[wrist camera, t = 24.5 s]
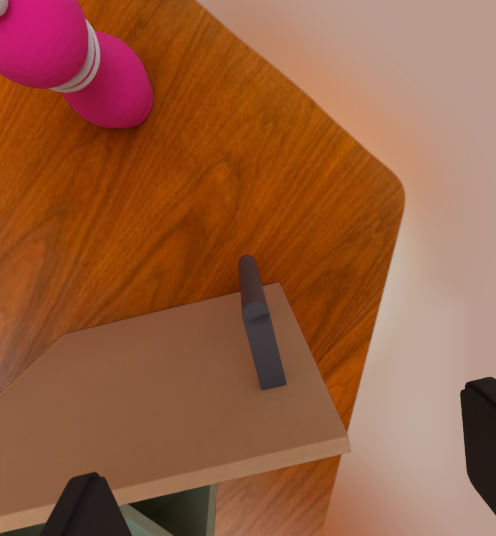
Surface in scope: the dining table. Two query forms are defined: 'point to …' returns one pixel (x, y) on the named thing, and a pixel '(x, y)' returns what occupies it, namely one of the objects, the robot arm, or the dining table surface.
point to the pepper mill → (73, 61)
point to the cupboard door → (166, 403)
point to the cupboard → (162, 515)
